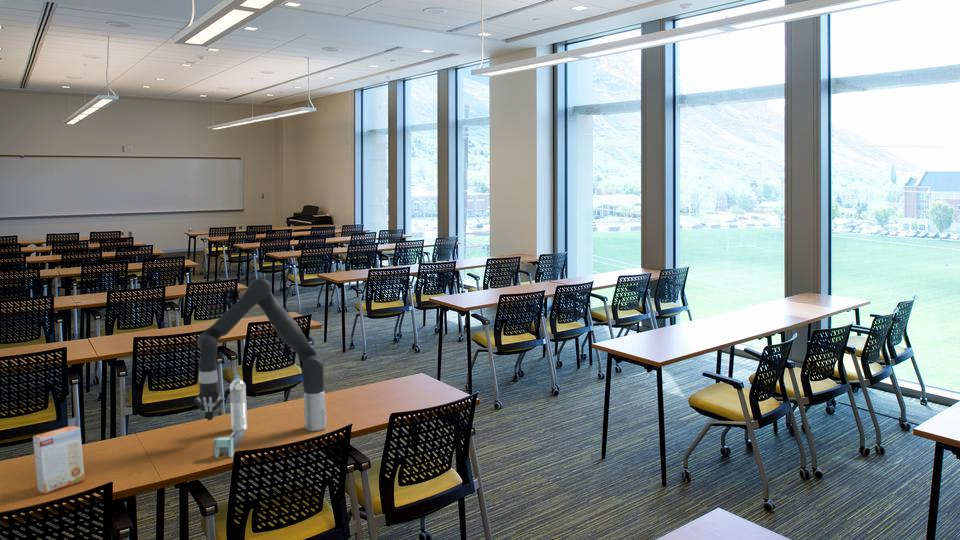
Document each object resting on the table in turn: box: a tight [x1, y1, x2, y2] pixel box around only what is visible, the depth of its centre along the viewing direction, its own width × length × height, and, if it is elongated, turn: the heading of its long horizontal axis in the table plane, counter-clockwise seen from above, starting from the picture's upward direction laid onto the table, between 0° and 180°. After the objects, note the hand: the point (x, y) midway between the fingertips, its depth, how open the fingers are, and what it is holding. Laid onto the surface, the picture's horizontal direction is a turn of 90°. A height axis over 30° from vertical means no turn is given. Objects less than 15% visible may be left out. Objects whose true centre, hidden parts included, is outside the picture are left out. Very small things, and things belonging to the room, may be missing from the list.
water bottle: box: [229, 374, 248, 432], centre depth 310 cm, size 7×7×25 cm
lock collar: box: [213, 436, 234, 459], centre depth 279 cm, size 3×7×7 cm, turn 93°
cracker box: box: [32, 425, 86, 494], centre depth 251 cm, size 14×6×21 cm, turn 145°
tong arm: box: [228, 429, 239, 437], centre depth 293 cm, size 16×2×4 cm, turn 3°
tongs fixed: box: [220, 429, 245, 456], centre depth 291 cm, size 20×4×4 cm, turn 3°
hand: (209, 419), depth 296 cm, fingers closed
